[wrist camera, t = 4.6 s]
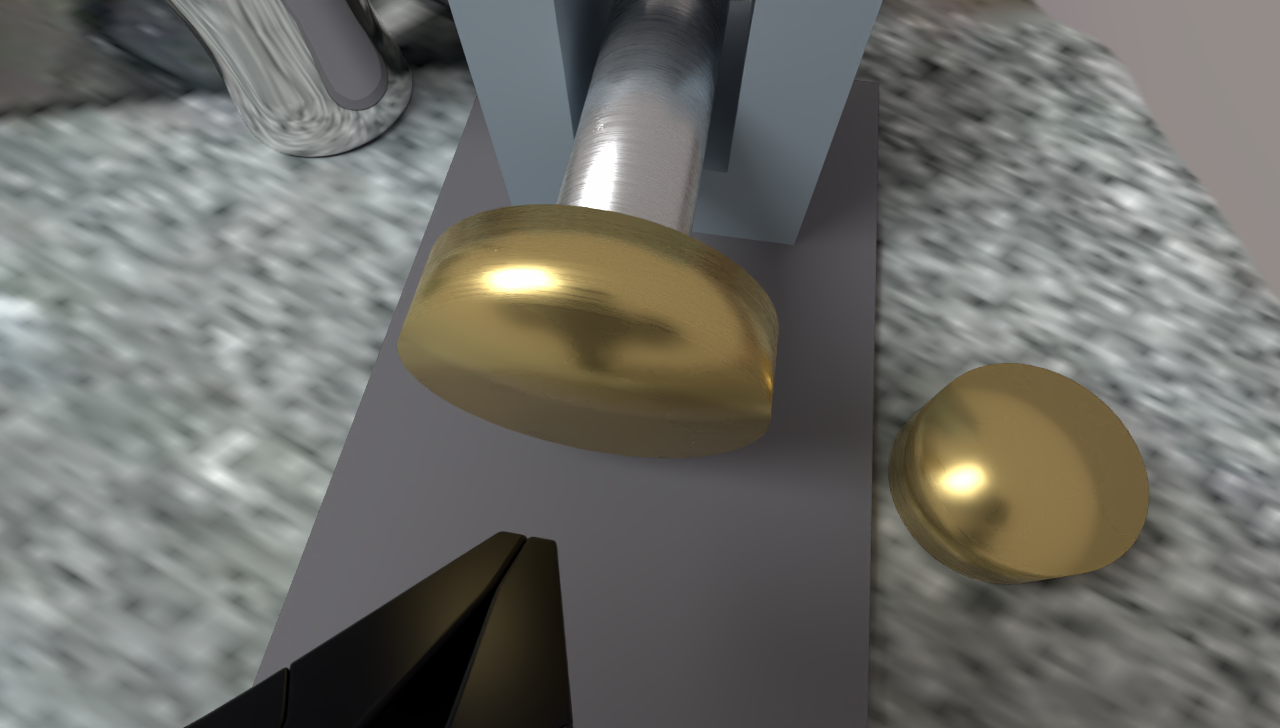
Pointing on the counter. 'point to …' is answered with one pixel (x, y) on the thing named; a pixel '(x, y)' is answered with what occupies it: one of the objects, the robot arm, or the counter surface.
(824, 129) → the bearing block
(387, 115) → the beer glass
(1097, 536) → the gold domed disc
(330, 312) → the counter surface
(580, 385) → the shaft
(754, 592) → the mat
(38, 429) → the counter surface
